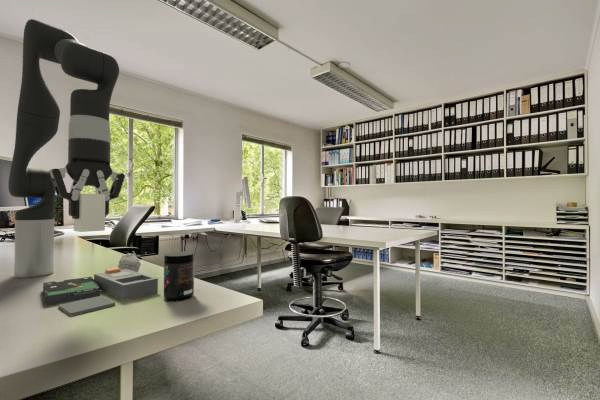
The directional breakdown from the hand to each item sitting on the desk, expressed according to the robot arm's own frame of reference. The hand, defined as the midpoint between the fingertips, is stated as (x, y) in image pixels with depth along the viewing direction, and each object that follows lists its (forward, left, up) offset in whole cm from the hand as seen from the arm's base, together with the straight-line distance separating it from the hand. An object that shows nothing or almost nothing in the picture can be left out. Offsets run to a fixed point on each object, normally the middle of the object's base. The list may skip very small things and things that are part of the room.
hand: (89, 217), depth 65 cm
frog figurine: (-21, +17, -19) cm, 33 cm away
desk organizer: (-10, +10, -19) cm, 24 cm away
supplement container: (+10, +15, -19) cm, 27 cm away
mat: (0, 0, -19) cm, 19 cm away
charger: (0, 0, -3) cm, 3 cm away
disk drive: (-14, +1, -20) cm, 24 cm away
